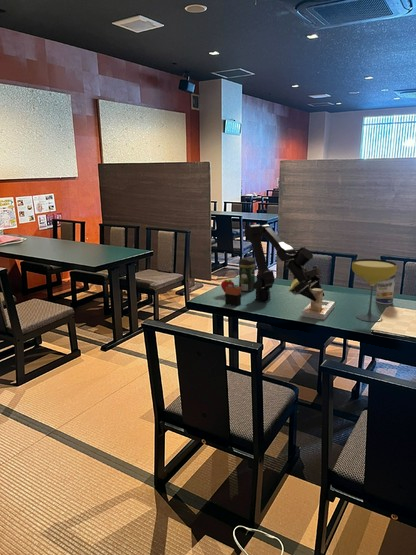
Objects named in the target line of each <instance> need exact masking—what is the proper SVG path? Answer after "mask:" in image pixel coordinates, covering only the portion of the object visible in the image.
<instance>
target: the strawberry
mask: <svg viewBox="0 0 416 555" xmlns="http://www.w3.org/2000/svg"><path fill="white" fill-rule="evenodd" d="M228 285H232V286H234V285H235V283H234V281H233V280H232V279H229V278H228V279H224V280H223V281H222V282H221V284H220V287H221V289H222V291H223V292H224V293H225V287H227V286H228Z"/></svg>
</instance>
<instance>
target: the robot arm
mask: <svg viewBox="0 0 416 555" xmlns="http://www.w3.org/2000/svg"><path fill="white" fill-rule="evenodd" d="M244 234H245V236H246V240H248V241H249V242H250V243H251V248H252V251H253V255H254V259H255V265H256V267H257V273H256V280H255V283H254V284H253V287H254V290H255V299H254V301H256V302H264V303H267V302H268V301H270V300H271V291H270V289H272V288H273V285H274V284H275V278H276V277H275V275H274V271H273V270H272V269H271V270H270V269H269V267H268V263H267V260H266V256H265V250H264V247H263V244H262V239H263V236H264V237H265V238H266V240H268V242H269V243H270V245H272V247H273V248H274V249H275V253H276V255H277V257H278V259H279V261H281V262H284V264H283V270H286V269H287V270H289V271H290V273H291V274H292V276H293V280H294V279H297V280H298V282H299V284H298V285H297V286H295V287H294V289H293V292H294V293H296V294H298V295H301V296H303V297H305V298H307V299H309V300H310V301H311V300H313V301H316V298H315V296H314V295H313V293H312V292H311V290H312V289H314V288H319V289H323V288H322V285H321V282H322V279H323V278H322V276H321V274H322V268H321V267H320V266H318V265H317V264H316V265H314V266H312V268H311V269H308V268H304V266H306V265H307V264H309V262H310V261H311V260H312V259H313V257H314V256H313V255H314V254H313V252H312V251H310V250H309V249H307V248H306V246H301V247H300V248H299V250H298V251H297V250H295V248H293V247H292V246H291V245H289V244H288V243H285V242H284V241H283V240H282V239H281V238H280V237H279V235H278V234H277V233H276V232H275V231H274V230H273V229H272V227H271V225H269V224H261V225H260V224H258V223H257V224H247V225H246V227H245V229H244ZM308 285H309V286H308ZM310 286H311V287H310ZM310 288H311V290H310ZM324 296H325V292H323V297H324Z"/></svg>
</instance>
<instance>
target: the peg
mask: <svg viewBox="0 0 416 555" xmlns="http://www.w3.org/2000/svg"><path fill="white" fill-rule="evenodd" d="M311 292H312V293H313V295H314V296H315V298H316V301H313V300H311V299H310V303H311V307H310V310H312V311H319V312H321V311H322V300H323V297H324V296H323V293H324V289H323V288H322V289H319V288H314V289H311Z"/></svg>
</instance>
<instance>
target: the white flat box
mask: <svg viewBox="0 0 416 555" xmlns="http://www.w3.org/2000/svg"><path fill="white" fill-rule="evenodd" d="M335 304H336V301H332V300H325V299H324V300H323V299H322V311H321V312H319V311H312V310H310V307H311V302H310V303H309V304H308V305H307V306H305V308H304V309H303V310H301V317H303V318H304V317H306V318H310V319H316V320H323V321H325V319H326V318H327V317H328V316H329V314H330V313H331V312H332V311H333V310H334V308H335V307H336V305H335Z"/></svg>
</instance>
